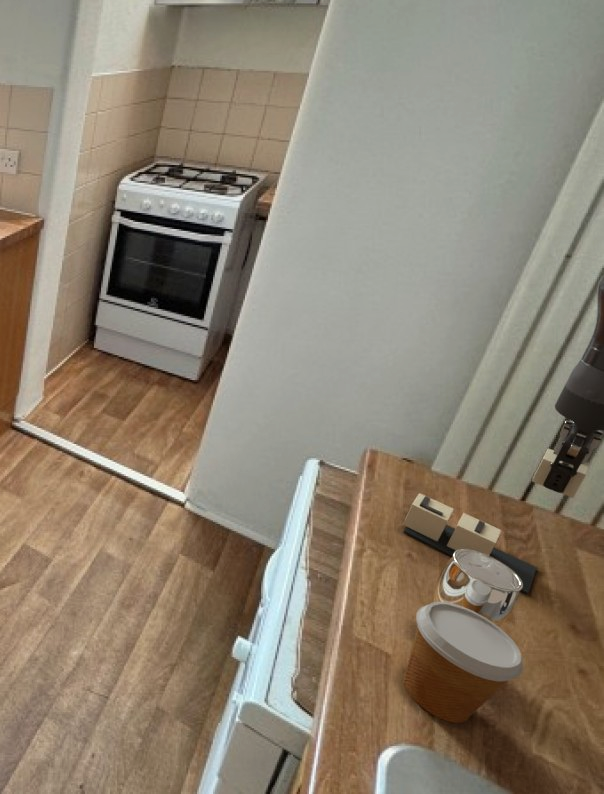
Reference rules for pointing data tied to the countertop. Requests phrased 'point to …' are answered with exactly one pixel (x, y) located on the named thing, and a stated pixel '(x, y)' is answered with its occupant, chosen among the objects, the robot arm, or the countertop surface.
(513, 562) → the word mat
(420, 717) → the countertop surface
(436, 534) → the tile
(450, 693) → the disposable coffee cup
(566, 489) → the tile
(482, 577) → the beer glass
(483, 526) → the tile
